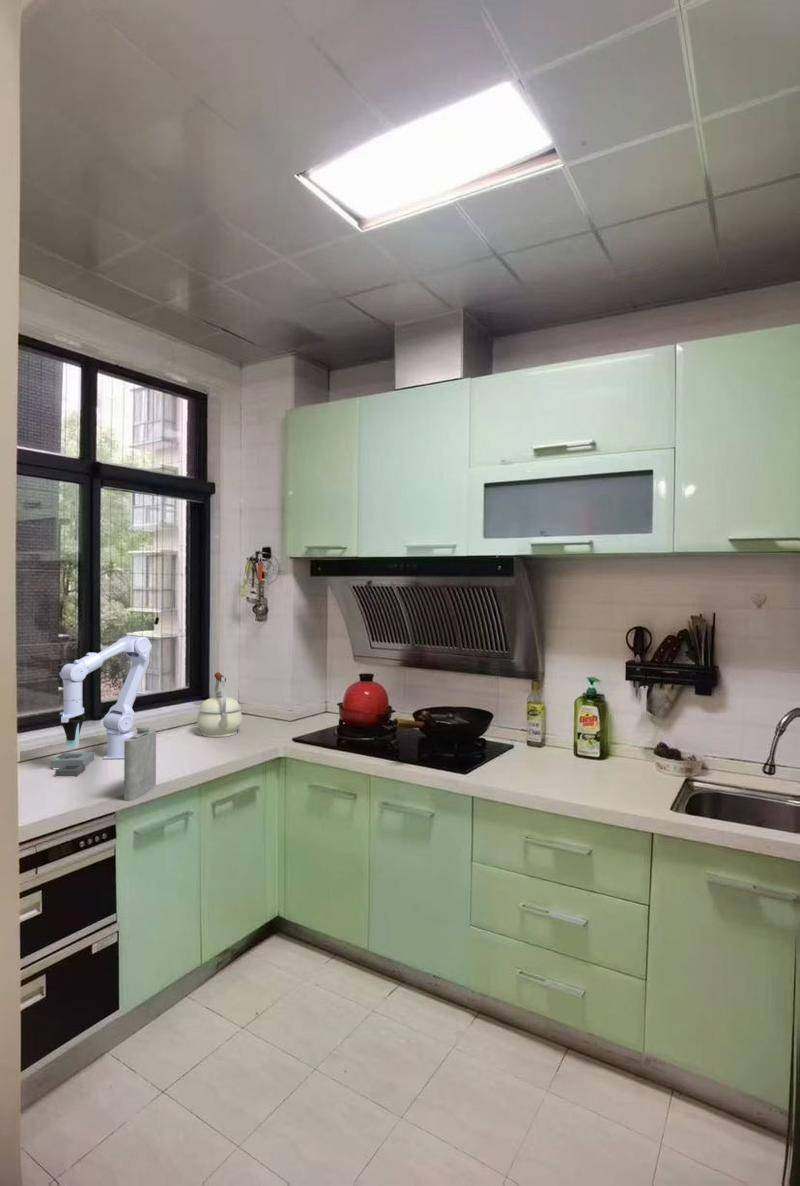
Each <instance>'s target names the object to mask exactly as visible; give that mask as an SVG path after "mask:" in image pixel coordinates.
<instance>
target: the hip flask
mask: <svg viewBox="0 0 800 1186" xmlns="http://www.w3.org/2000/svg"><path fill="white" fill-rule="evenodd" d="M136 731H137V732H136V735H134V736H132V737H130V738H128V739H126V740H124V760H123V761H124V764H123V765H124V766H123V771H124V772H123V778H124V781H123V801H125V802H130V801H135V800H136V799H138V798H141V797H142V796H145V795H146V794H147V793H148V792H150V791H152V790H153V788H154V787H155V786H156V784H157V779H156V778H157V728H154V727H152V728H150V725H139V726H137V727H136Z"/></svg>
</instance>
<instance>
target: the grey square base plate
mask: <svg viewBox="0 0 800 1186" xmlns="http://www.w3.org/2000/svg"><path fill="white" fill-rule="evenodd" d="M85 766H86V764H73V765H63V766H62V767H60V768H59V769H55V770H54V771H55V772H54V775H55V776H75V777H78V775H79V774H80V773H81V774H83V773H84V772H85V771H86V767H87V766H86V767H85ZM84 770H85V771H84ZM83 771H84V772H83ZM81 774H80V775H81ZM80 775H79V776H80Z"/></svg>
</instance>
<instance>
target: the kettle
mask: <svg viewBox="0 0 800 1186" xmlns="http://www.w3.org/2000/svg"><path fill="white" fill-rule="evenodd" d="M214 678H215V684H214V685H215V686H214V697H213V696H212V697H210V698H208V699H205V700H204V701H203V702H202V703H201V705H200V706H198V709H197V710H198V711H199V712H198V714H197V718H196V724H197V728H199V730H200V731H201V734H202V735H203V736H204V737H208V738H226V736H227V737H231V735H232V736H235V735H236V734H237V733H238V730H239V728H240V727H241V726H242V724H243V715H242V714H243V713H242V711H241V710H242V706H241V705H240V703H239V702H238V700H237V699H235V698H233V697H230V696H227V695H226V686H225V685H226V682H227V678H226V677H225V676H224V675H222V673H220V672H215V673H214ZM219 684H221V685H219ZM219 686H220V687H221V688H220V689H221V690H219Z"/></svg>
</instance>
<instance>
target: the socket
mask: <svg viewBox="0 0 800 1186" xmlns="http://www.w3.org/2000/svg"><path fill="white" fill-rule="evenodd" d="M93 760H94V761H95V752H94V751H77V752H72V751H71V752H69V751H68V752H63V753H62V754H60V755H59V756H57V757H55V758H53V759H52V760H51V769H52V768H60V767H62V766H63V765H73V764H86V765H87V766H88V764H89V763H90V762H91V763H93V762H94V761H93ZM92 761H93V762H92ZM91 763H90V764H91ZM90 764H89V765H90Z"/></svg>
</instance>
